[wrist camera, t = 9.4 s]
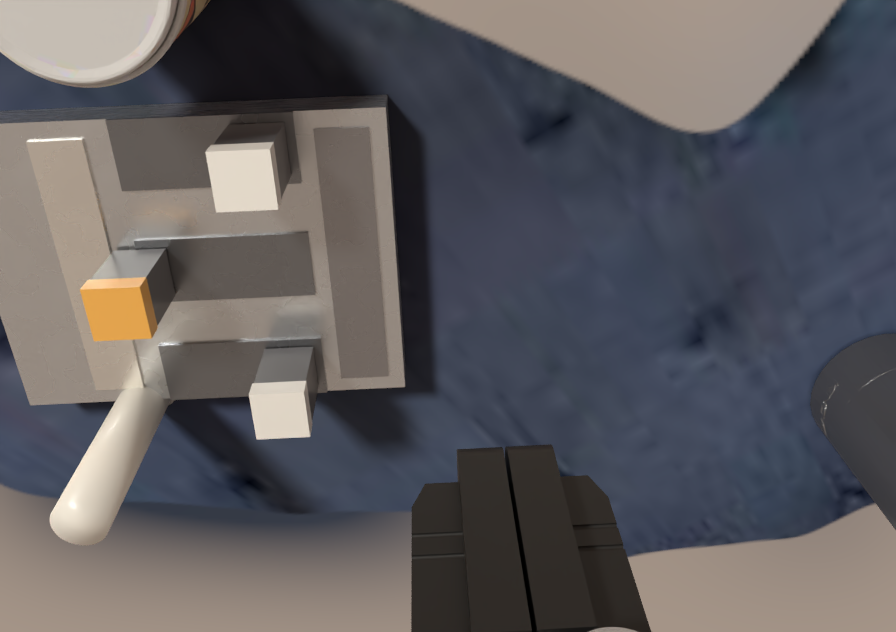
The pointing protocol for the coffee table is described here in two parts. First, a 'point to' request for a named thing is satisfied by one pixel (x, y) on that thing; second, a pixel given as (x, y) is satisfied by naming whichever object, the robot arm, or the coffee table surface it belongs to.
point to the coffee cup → (92, 37)
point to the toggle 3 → (284, 393)
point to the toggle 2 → (249, 167)
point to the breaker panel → (200, 247)
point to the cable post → (108, 467)
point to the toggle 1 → (128, 295)
